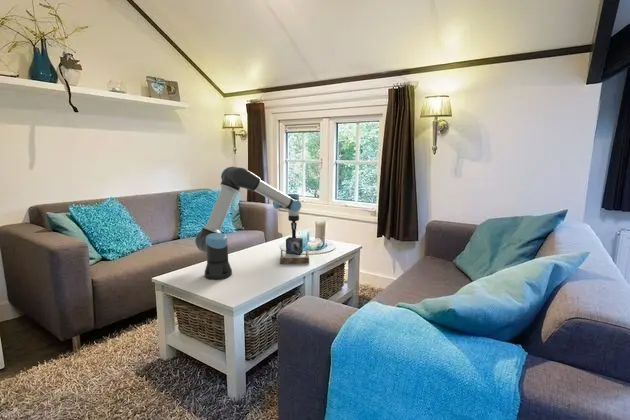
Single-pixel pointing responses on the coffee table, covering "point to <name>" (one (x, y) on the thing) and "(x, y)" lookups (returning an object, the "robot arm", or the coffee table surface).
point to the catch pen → (294, 259)
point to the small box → (294, 246)
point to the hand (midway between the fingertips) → (293, 247)
